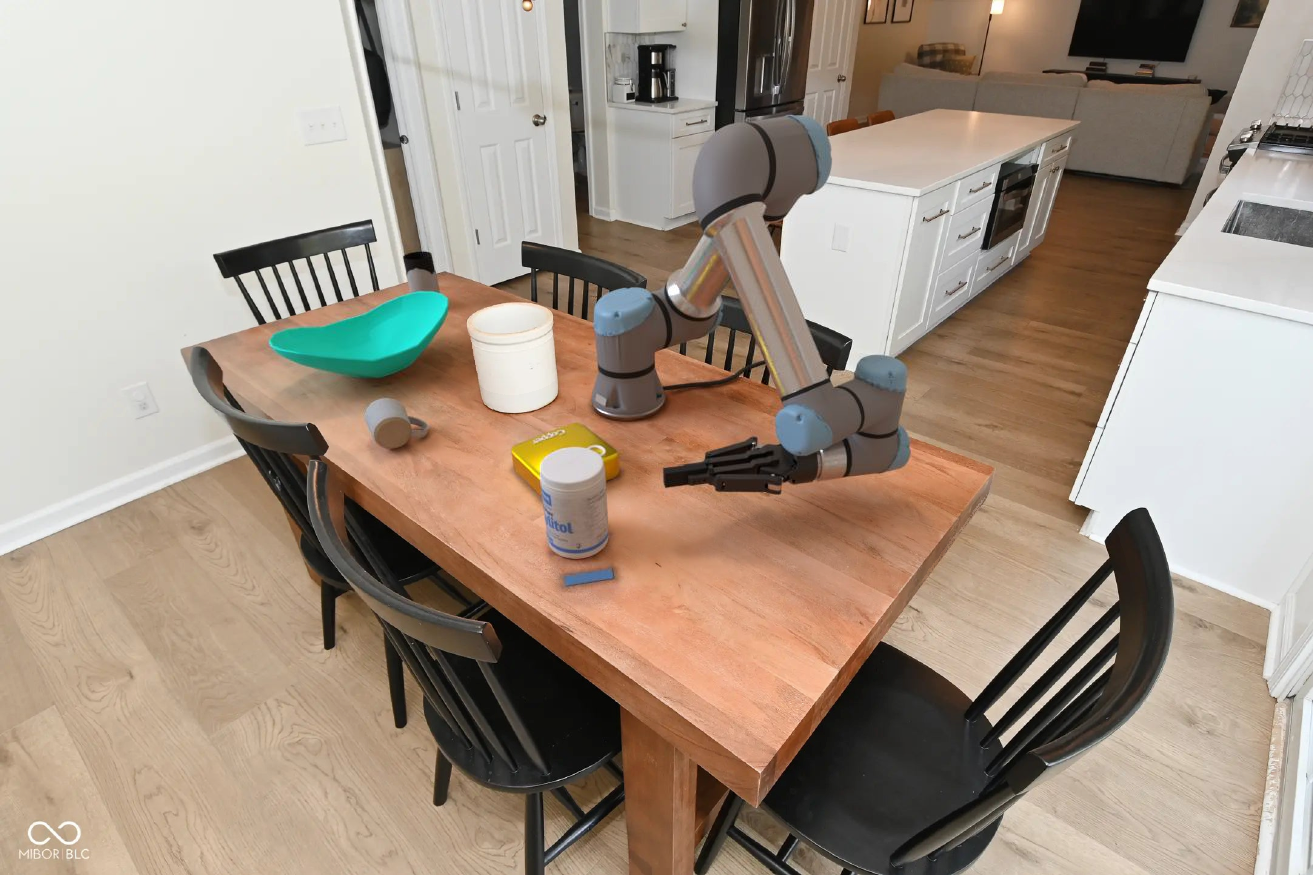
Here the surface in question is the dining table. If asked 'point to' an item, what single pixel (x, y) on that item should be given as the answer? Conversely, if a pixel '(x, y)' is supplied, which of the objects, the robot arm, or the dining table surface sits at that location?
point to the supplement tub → (575, 502)
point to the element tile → (572, 435)
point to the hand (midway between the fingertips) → (664, 478)
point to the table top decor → (368, 338)
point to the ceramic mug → (392, 423)
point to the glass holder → (421, 272)
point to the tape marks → (589, 577)
